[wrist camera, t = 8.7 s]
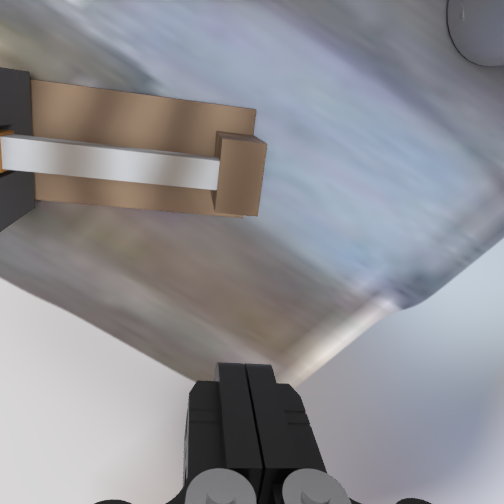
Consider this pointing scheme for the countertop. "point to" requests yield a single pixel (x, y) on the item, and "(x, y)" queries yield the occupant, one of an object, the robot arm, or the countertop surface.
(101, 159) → the rod stand
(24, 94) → the dark grey square plate
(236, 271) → the countertop surface
